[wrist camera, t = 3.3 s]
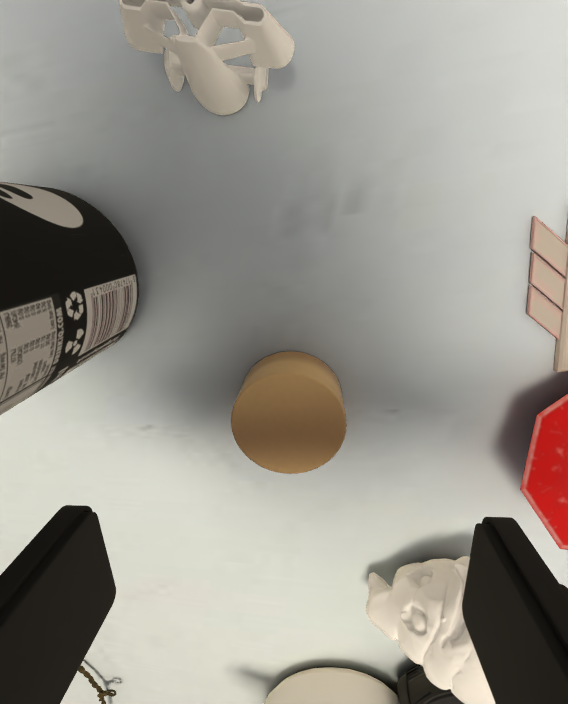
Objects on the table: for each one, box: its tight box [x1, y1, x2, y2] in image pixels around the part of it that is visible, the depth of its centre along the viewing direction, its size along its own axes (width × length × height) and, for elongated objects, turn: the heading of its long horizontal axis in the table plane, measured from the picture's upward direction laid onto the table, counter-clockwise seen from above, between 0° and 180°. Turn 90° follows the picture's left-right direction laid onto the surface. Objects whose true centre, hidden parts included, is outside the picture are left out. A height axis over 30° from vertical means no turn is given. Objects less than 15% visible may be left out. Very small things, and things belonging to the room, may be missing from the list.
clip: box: [119, 0, 294, 115], centre depth 11 cm, size 5×2×4 cm, turn 83°
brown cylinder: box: [231, 351, 347, 474], centre depth 15 cm, size 4×4×2 cm
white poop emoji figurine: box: [366, 556, 495, 704], centre depth 17 cm, size 6×6×5 cm
